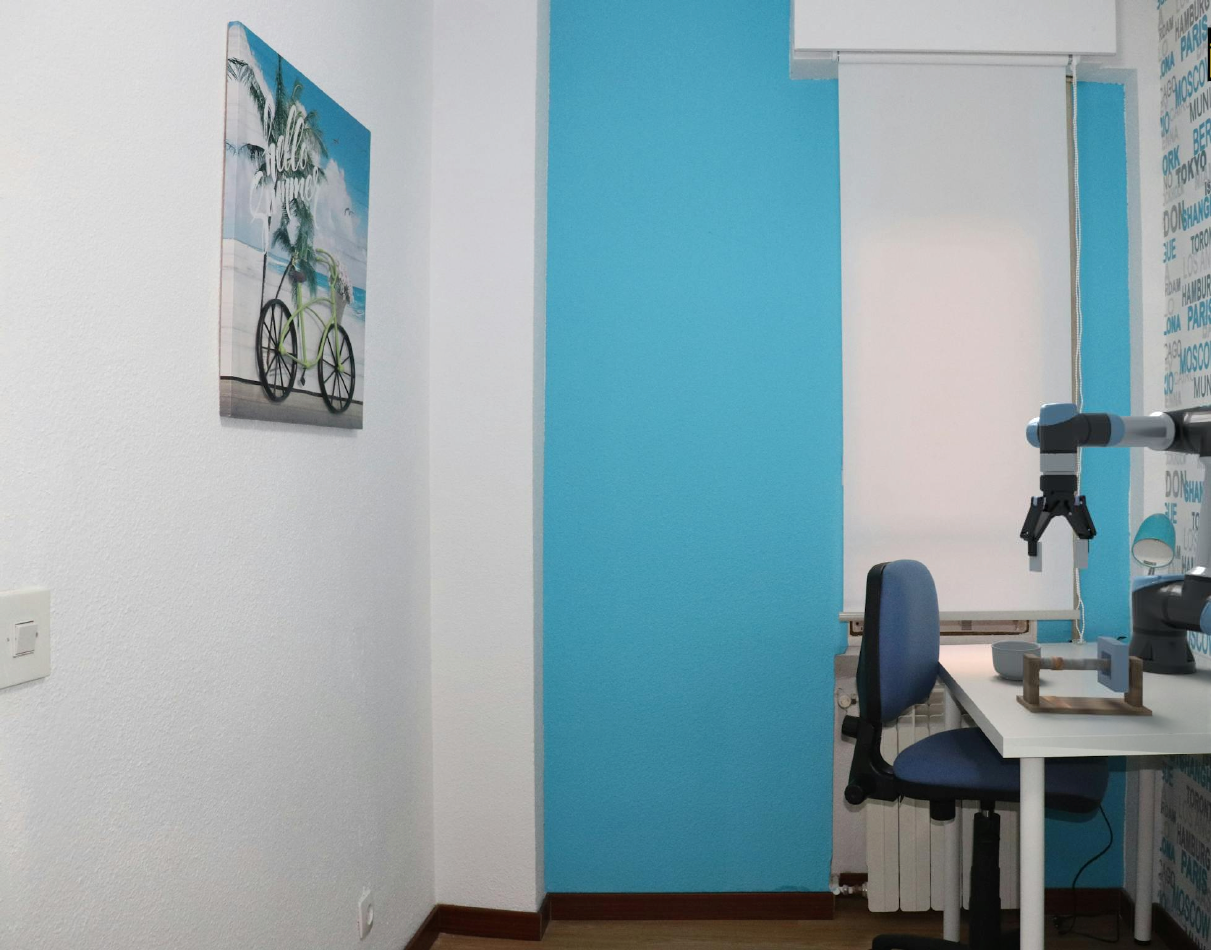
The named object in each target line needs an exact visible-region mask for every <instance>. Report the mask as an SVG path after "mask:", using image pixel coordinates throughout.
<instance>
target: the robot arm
mask: <svg viewBox="0 0 1211 950" xmlns="http://www.w3.org/2000/svg"><path fill="white" fill-rule="evenodd" d="M1025 437H1026V440H1027V441H1028V443H1029V444H1030V445H1031V446H1032V447H1034V448H1037V449H1039V472H1040V473H1042V474H1041V475H1040V476H1039V490H1040V491H1041V492H1042V495H1032V496H1031V498H1030V506H1029V508H1028V511H1027V515H1026V517H1025V520H1024V522H1023V525H1022V529H1020V533H1019V538H1020V539H1023V541H1025V542H1027V556H1028V558H1029V559H1028V560H1029V561H1028V564H1029V567H1028V568H1029V569H1028V570H1029V572H1034V573H1043V543H1042V541H1039V540H1040V539H1041V537H1042V535H1043V534H1044V533H1045V531H1046V529H1047V528H1048V525H1049V524H1050V523H1051V522H1052V519H1054V518H1056V517H1062V516H1063V518H1065V519H1066V521H1067V523H1068V524H1069V525H1070V527H1071V528H1072V530H1073V531H1074V533H1075V534H1076V537H1077V538H1075V540H1074V568H1075V569H1081V570H1088V569H1089V553H1090V540H1094V538H1095V537H1096V536H1097V533H1098V532H1097V530H1096V527H1095V524H1094V522H1093V519H1092V516H1091V514H1090V511H1089V508H1088V505H1087V497H1086V495H1084V494H1075V492H1077V491H1078V489H1079V488H1078V487H1079V486H1078V484H1079V483H1078V480H1079V478H1078V475H1077V474H1075V473H1077V472H1078V471H1079V463H1078V461H1079V459H1078V458H1079V457H1078V456H1079V455H1078V453H1079V452H1078V448H1148V449H1150V450H1151V451H1154V452H1163V451H1164V452H1171V453H1172V452H1173V453H1180V454H1189V455H1198V460H1199V462H1201V463H1202V464H1203V466H1204V468H1205V470H1204V478H1203V484H1202V485H1203V486H1202V494H1201V501H1200V509H1199V510H1200V511H1199V517H1198V519H1199V520H1198V527H1197V535H1196V541H1195V543H1196V544H1195V549H1194V550H1195V552H1194V559H1193V566H1192V568H1190V569H1188V570H1187V571H1186V572H1184V573H1183V574H1182V573H1177V574H1174V573H1172V574H1149V575H1147V574H1146V575H1137V576H1136V577H1135V578H1134V579H1133V580H1132V590H1131V608H1132V610H1131V611H1132V613H1131V614H1132V615H1131V616H1132V617H1131V618H1132V635H1131V638H1130V641H1129V644H1128V645H1129V656H1135V657H1137V658H1139V659H1141V660H1143V672H1150V673H1160V674H1177V675H1179V674H1191V673H1195V672H1196V670H1197V668H1196V666H1197V665H1196V663H1197V662H1196V660H1195V656H1194V654H1193V651H1192V647H1191V645H1190V643H1189V639H1188V632H1193V633H1197V634H1198V633H1199V634H1203V635H1207V636H1210V637H1211V405H1209V406H1208V405H1207V406H1195V407H1189V408H1183V409H1178V410H1177V409H1176V410H1172V411H1171V410H1170V411H1169V410H1168V411H1155V412H1152V413H1151V414H1149V415H1118V414H1116V413H1108V412H1084V413H1083V412H1079V411H1078V406H1077V404H1076V403H1072V402H1061V403H1060V402H1059V403H1047V404H1046V403H1045V404H1043V405H1042V406H1041V407H1040V409H1039V417H1035V418H1033V419H1031V420H1030V421H1029V423H1028V424H1027V426H1026V429H1025Z"/></svg>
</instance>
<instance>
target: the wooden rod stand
mask: <svg viewBox="0 0 1211 950" xmlns="http://www.w3.org/2000/svg"><path fill="white" fill-rule="evenodd" d="M1039 669H1040V670H1050V671H1097V672H1098V671H1111V659H1098V658H1086V657H1084V658H1080V657H1078V658H1077V657H1075V658H1073V657H1061V656H1050V657H1041V658H1038V657H1037V656H1035V655H1033V654H1023V680H1022V695H1016V697H1015V700H1016V701H1017V702H1018V703H1019V704H1021V706H1023V707H1024V708H1025V709H1026V710H1028V711H1029V712H1030V713H1037V714H1038V713H1040V714H1041V713H1043V714H1044V713H1045V714H1073V715H1074V714H1075V715H1076V714H1077V715H1078V714H1079V715H1080V714H1081V715H1111V716H1112V715H1114V716H1115V715H1119V716H1149V717H1150V716H1151V717H1152V716H1153V710H1151V709H1150V708H1148V707H1146V706H1145V705H1144V671H1143V660H1141V659H1139V658H1137V657H1135V656H1129V693H1123V697H1095V696H1094V697H1091V696H1090V697H1089V696H1088V697H1087V696H1085V697H1084V696H1056V695H1040V672H1039Z"/></svg>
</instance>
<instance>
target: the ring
mask: <svg viewBox="0 0 1211 950" xmlns="http://www.w3.org/2000/svg"><path fill="white" fill-rule="evenodd" d="M1096 648H1097V649H1096V650H1097V652H1096V653H1097V655H1096V656H1097V659H1111V671H1097V683H1099V684H1100V685H1102V686H1104V687H1105V688H1107V689H1109V690H1110V691H1113V692H1114V693H1123V694H1124V693H1129V644H1128V643H1125V642H1122V641H1120V640H1118V639H1116V638H1114V637H1112V636H1097V647H1096Z"/></svg>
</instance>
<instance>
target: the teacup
mask: <svg viewBox="0 0 1211 950" xmlns="http://www.w3.org/2000/svg"><path fill="white" fill-rule="evenodd" d="M990 646H991V655H992V656H991V657H992V664H993V665H992V666H993V668H994V670H995V672H996V673H997V674H999V675H1000V676H1001V678H1003V679H1006V680H1010V681H1023V654H1033V655H1035V656H1037V657H1038V658H1042V651H1041V650H1042V646H1041V644H1039V643H1036V642H1032V641H1025V640H1005V639H1001V640H999V641H996V642H993V643H991V645H990ZM1040 672H1041V669H1039V673H1040Z"/></svg>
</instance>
